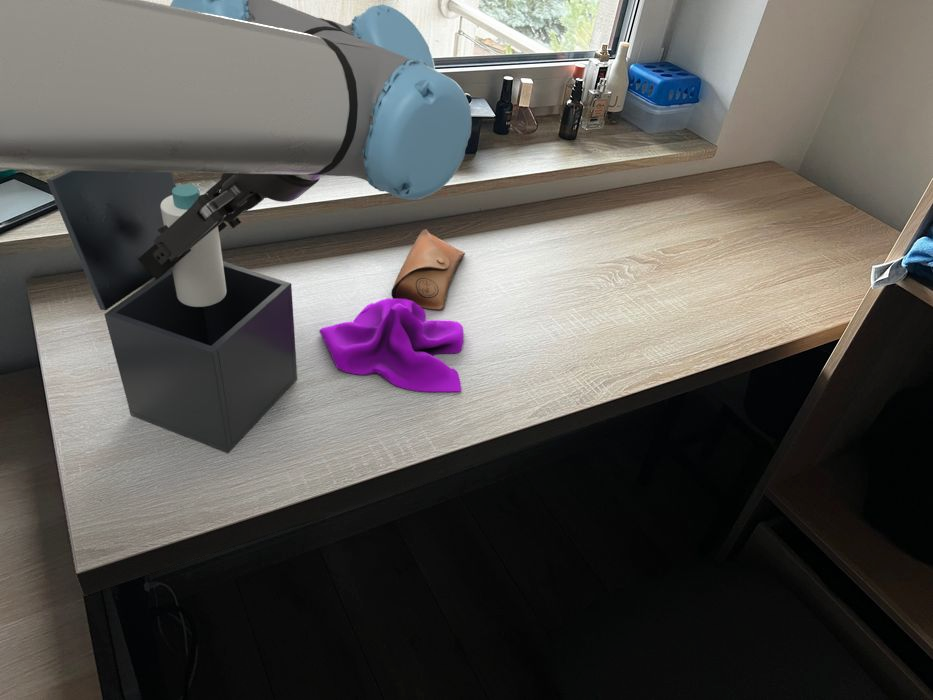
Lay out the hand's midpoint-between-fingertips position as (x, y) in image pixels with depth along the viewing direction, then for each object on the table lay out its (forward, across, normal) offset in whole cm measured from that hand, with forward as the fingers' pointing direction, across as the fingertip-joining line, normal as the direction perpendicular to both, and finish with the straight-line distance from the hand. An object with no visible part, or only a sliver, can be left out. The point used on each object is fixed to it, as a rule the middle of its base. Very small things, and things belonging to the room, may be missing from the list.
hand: (168, 255), depth 78 cm
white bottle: (0, 0, -5) cm, 5 cm away
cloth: (0, +20, -28) cm, 34 cm away
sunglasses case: (+3, +38, -25) cm, 45 cm away
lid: (+1, 0, +5) cm, 5 cm away
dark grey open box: (+11, 0, -16) cm, 19 cm away
